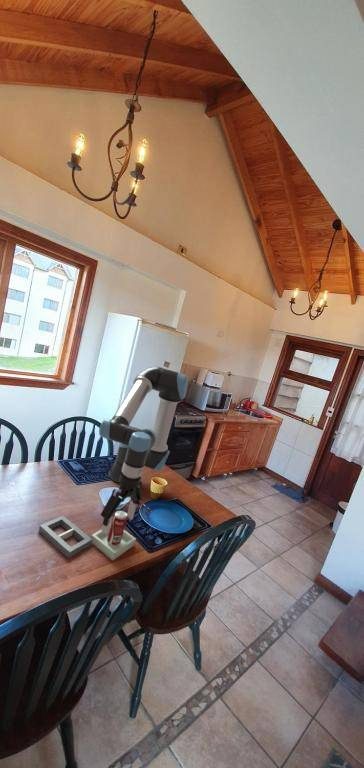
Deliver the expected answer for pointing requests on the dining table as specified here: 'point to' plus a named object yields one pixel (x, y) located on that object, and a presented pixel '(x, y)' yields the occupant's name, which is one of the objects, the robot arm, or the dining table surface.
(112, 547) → the tray
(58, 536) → the frame
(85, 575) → the dining table surface
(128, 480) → the robot arm
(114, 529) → the soda can
